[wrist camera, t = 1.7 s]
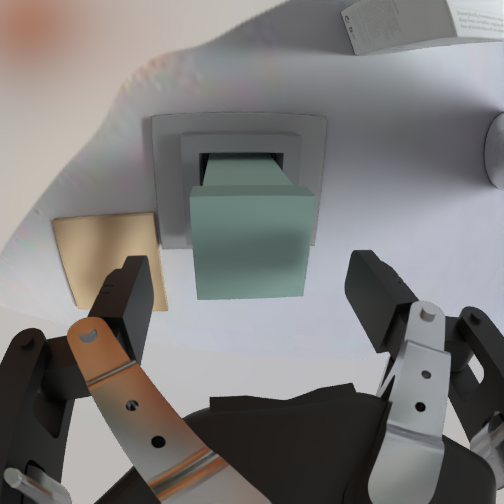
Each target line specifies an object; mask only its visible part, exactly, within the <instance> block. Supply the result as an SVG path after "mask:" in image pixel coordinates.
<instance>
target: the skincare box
mask: <svg viewBox="0 0 504 504" xmlns="http://www.w3.org/2000/svg"><path fill="white" fill-rule="evenodd" d="M341 15H342V17H343V20H344V23H345V26H346V29H347V32H348V35H349V38H350V41H351V43H352V46H353V49H354V52H355V54H356V55H358V56H362V55H375V54H385V53H394V52H402V51H409V50H415V49H422V48H429V47H437V46H446V45H456V44H467V43H483V42H497V41H504V1H503V0H359V1H357V2H355V3H354V4H352V5H351V6H349V7H347V8H346V9H344V10H343V11H341Z"/></svg>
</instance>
